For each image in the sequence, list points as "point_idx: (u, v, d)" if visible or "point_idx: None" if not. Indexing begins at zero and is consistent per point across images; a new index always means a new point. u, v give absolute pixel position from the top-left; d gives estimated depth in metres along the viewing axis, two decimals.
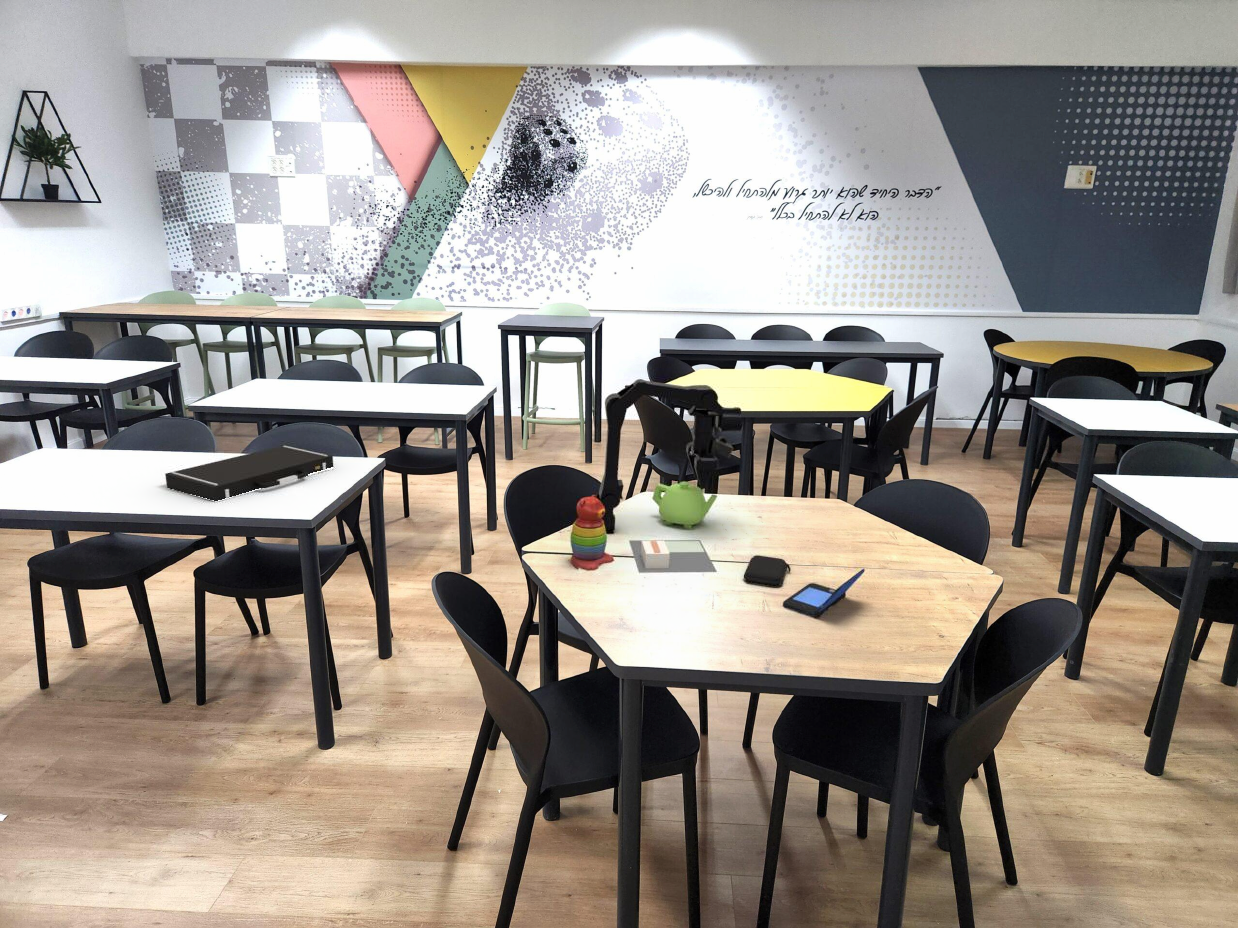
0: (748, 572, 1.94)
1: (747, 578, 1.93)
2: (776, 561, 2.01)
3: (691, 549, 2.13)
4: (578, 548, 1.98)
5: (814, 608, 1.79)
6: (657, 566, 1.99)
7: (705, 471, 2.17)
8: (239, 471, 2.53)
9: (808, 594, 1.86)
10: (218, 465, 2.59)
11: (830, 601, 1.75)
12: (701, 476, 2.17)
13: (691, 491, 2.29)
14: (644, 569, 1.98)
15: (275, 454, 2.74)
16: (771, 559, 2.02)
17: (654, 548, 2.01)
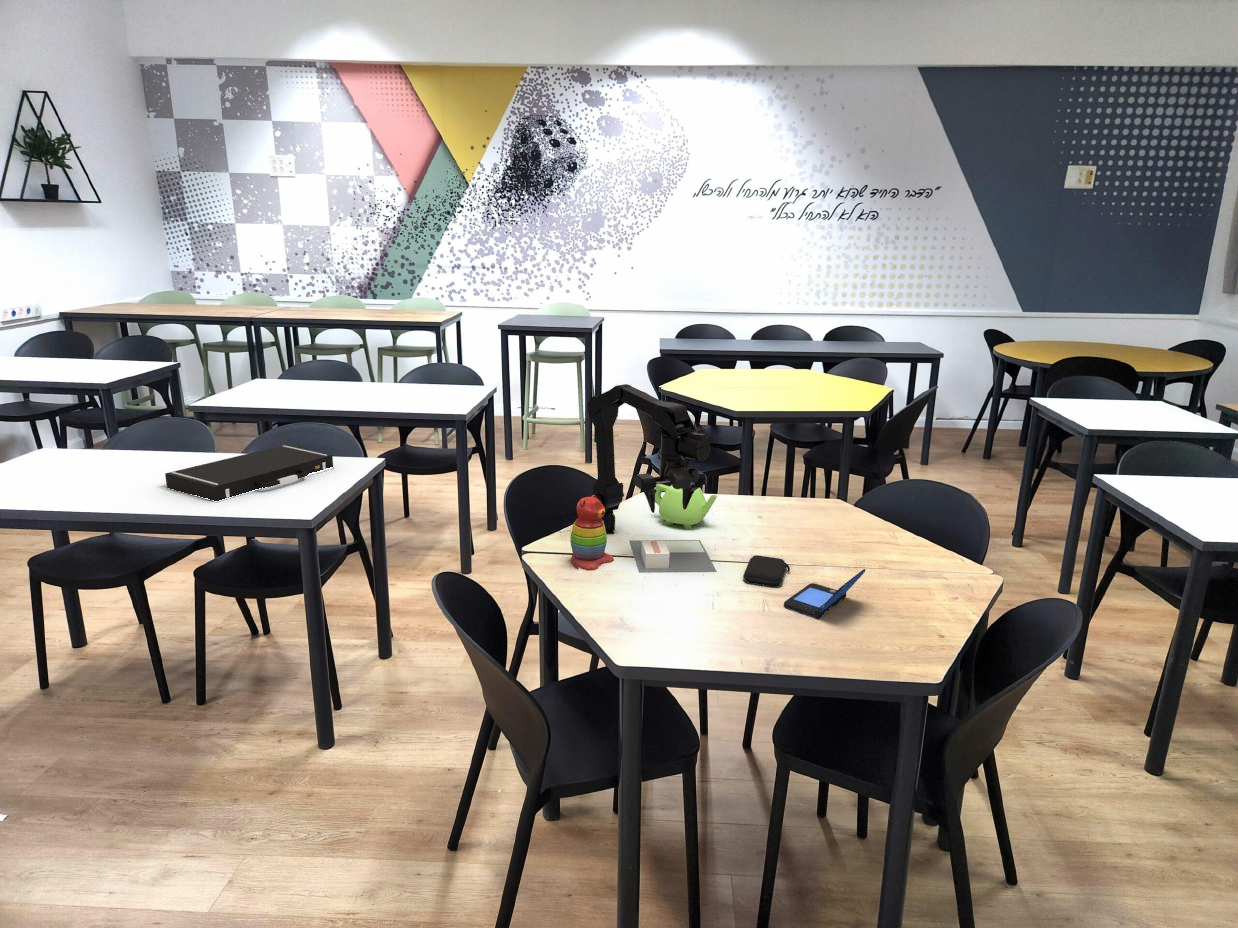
0: (748, 572, 1.94)
1: (747, 578, 1.93)
2: (776, 561, 2.01)
3: (691, 549, 2.13)
4: (578, 548, 1.98)
5: (815, 608, 1.79)
6: (657, 566, 1.99)
7: None
8: (239, 471, 2.53)
9: (809, 594, 1.86)
10: (218, 465, 2.59)
11: (831, 601, 1.75)
12: (647, 497, 2.04)
13: None
14: (644, 569, 1.98)
15: (275, 454, 2.74)
16: (770, 559, 2.02)
17: (654, 548, 2.01)
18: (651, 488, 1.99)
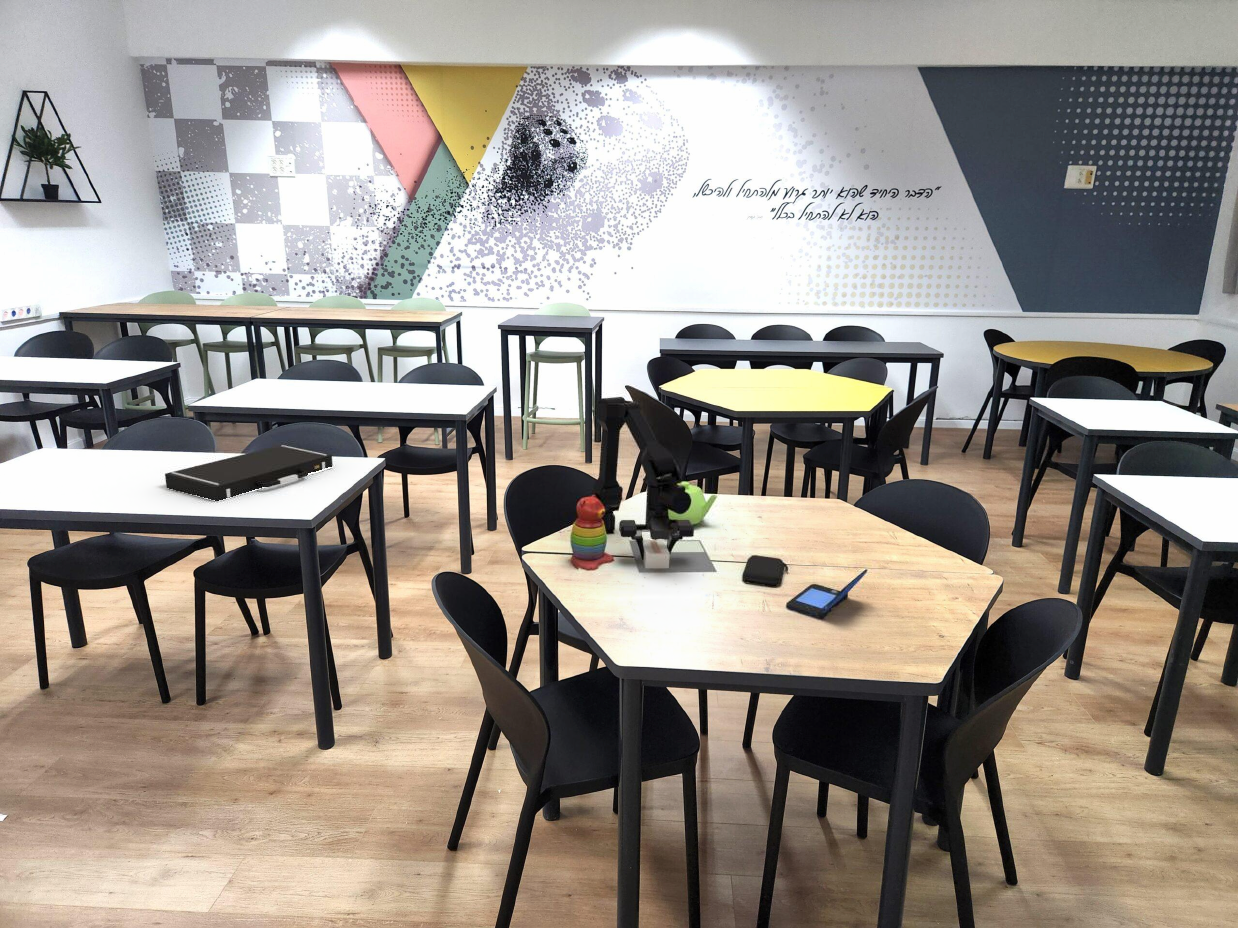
0: (747, 572, 1.94)
1: (746, 578, 1.93)
2: (774, 560, 2.02)
3: (691, 549, 2.13)
4: (578, 548, 1.98)
5: (818, 609, 1.79)
6: (657, 566, 1.99)
7: None
8: (239, 471, 2.53)
9: (811, 595, 1.85)
10: (217, 465, 2.59)
11: (834, 602, 1.75)
12: None
13: (691, 491, 2.29)
14: (644, 569, 1.98)
15: (274, 454, 2.74)
16: (768, 559, 2.02)
17: (654, 548, 2.01)
18: (631, 536, 1.98)
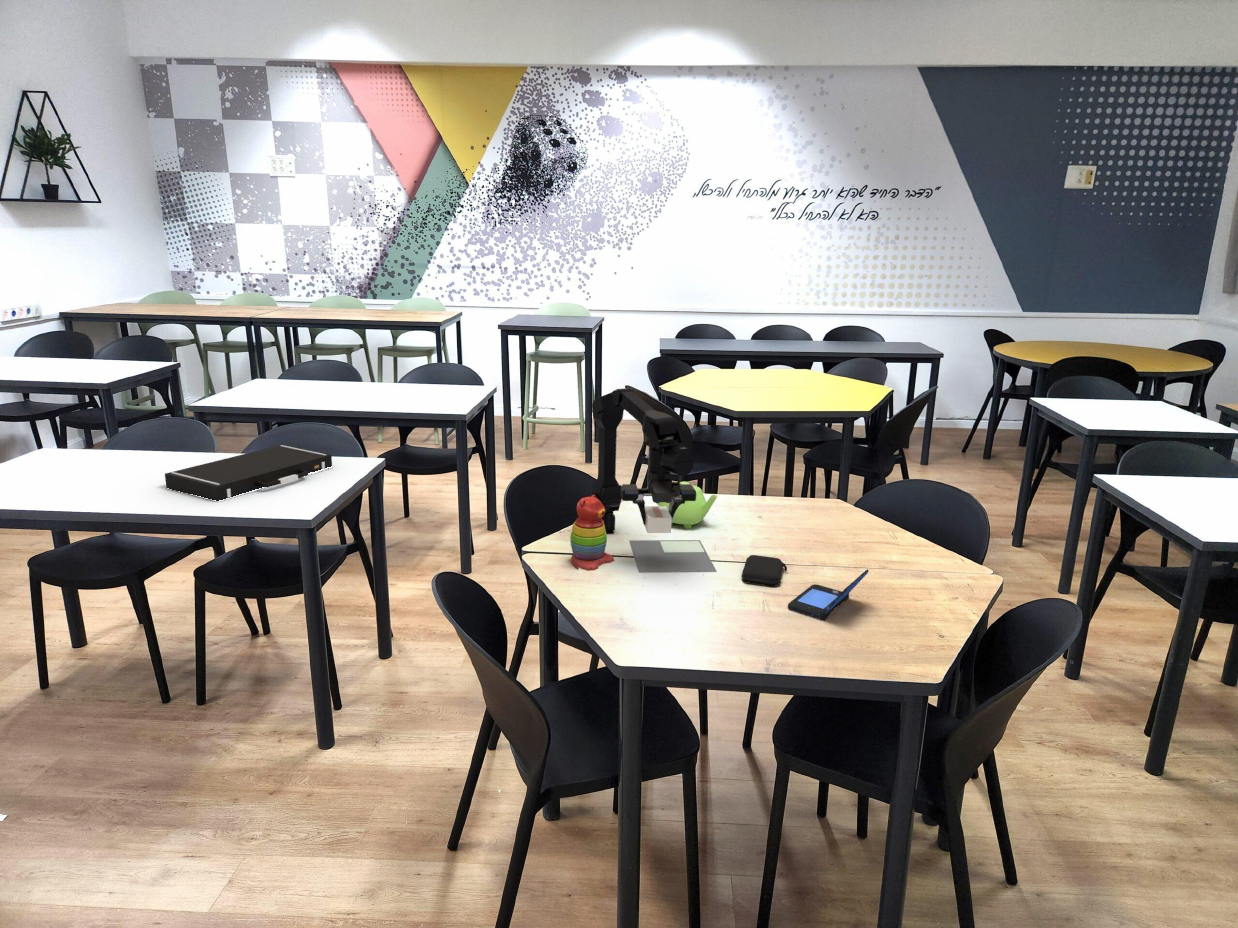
0: (746, 572, 1.94)
1: (745, 578, 1.93)
2: (772, 560, 2.02)
3: (691, 549, 2.13)
4: (578, 548, 1.98)
5: (819, 610, 1.78)
6: (659, 531, 1.97)
7: None
8: (239, 471, 2.53)
9: (812, 595, 1.85)
10: (217, 465, 2.59)
11: None
12: None
13: None
14: (644, 569, 1.98)
15: (273, 453, 2.74)
16: (767, 559, 2.02)
17: (656, 513, 1.98)
18: (633, 499, 1.95)
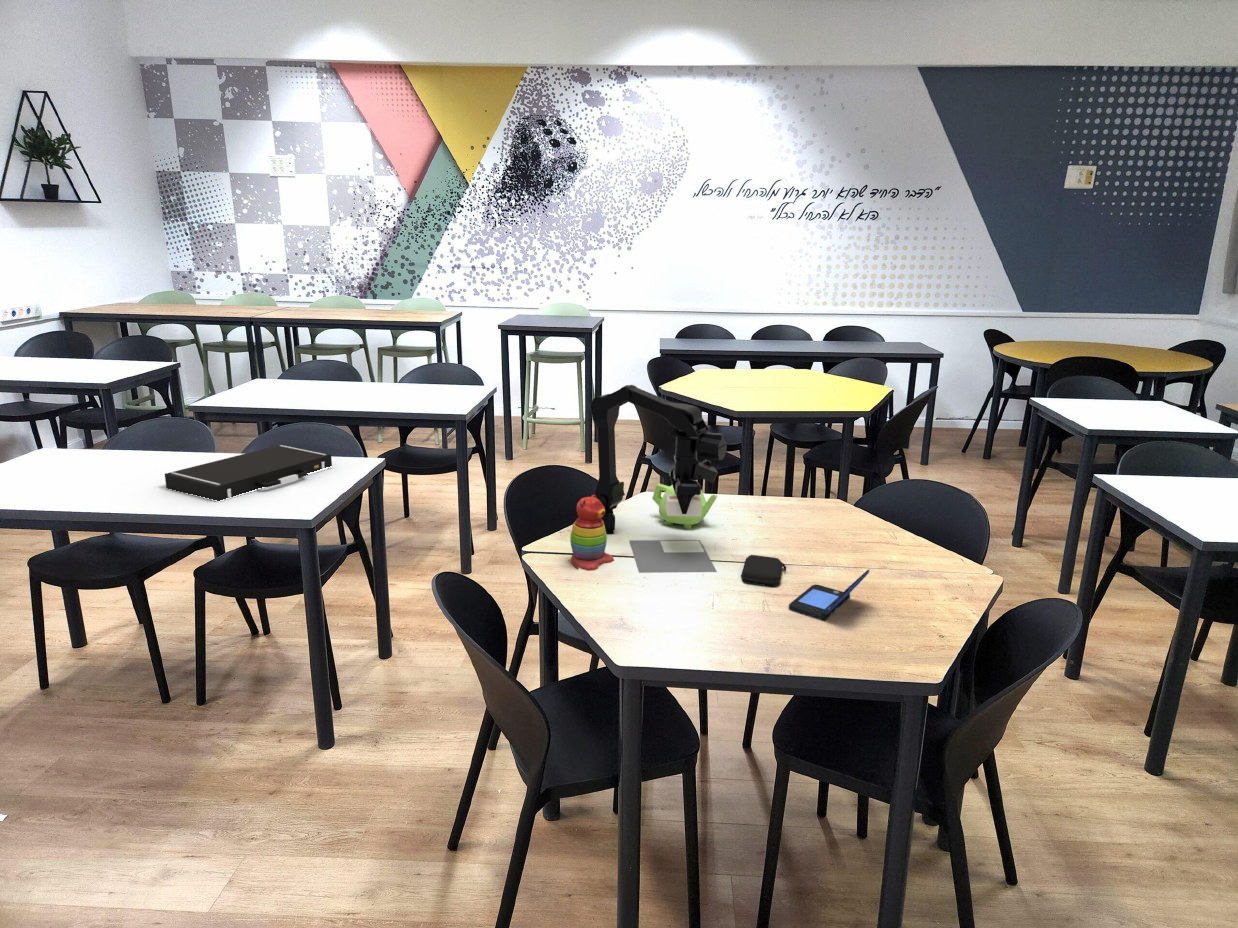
0: (746, 572, 1.94)
1: (745, 578, 1.93)
2: (772, 560, 2.02)
3: (691, 549, 2.13)
4: (578, 548, 1.98)
5: (820, 610, 1.78)
6: None
7: (686, 495, 2.05)
8: (239, 471, 2.53)
9: (813, 596, 1.85)
10: (217, 465, 2.59)
11: (837, 603, 1.75)
12: (682, 501, 2.05)
13: None
14: (644, 569, 1.98)
15: (273, 453, 2.74)
16: (766, 559, 2.02)
17: None
18: None
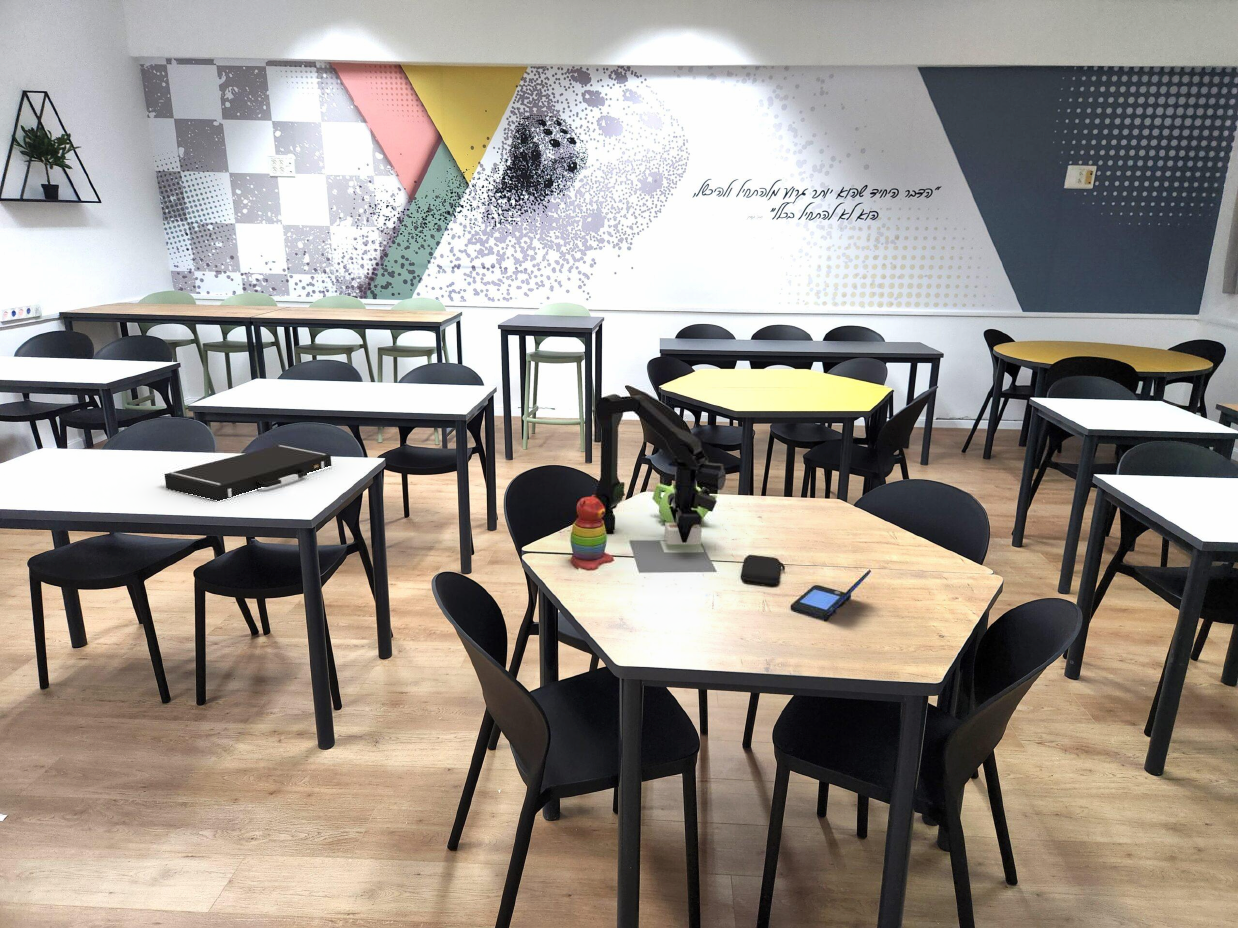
0: (745, 572, 1.94)
1: (744, 578, 1.93)
2: (770, 560, 2.02)
3: (691, 549, 2.13)
4: (578, 548, 1.98)
5: (822, 611, 1.78)
6: None
7: (686, 524, 2.08)
8: (239, 471, 2.53)
9: (815, 596, 1.85)
10: (217, 465, 2.59)
11: None
12: (682, 530, 2.08)
13: None
14: (644, 569, 1.98)
15: (272, 453, 2.74)
16: (765, 559, 2.02)
17: None
18: None
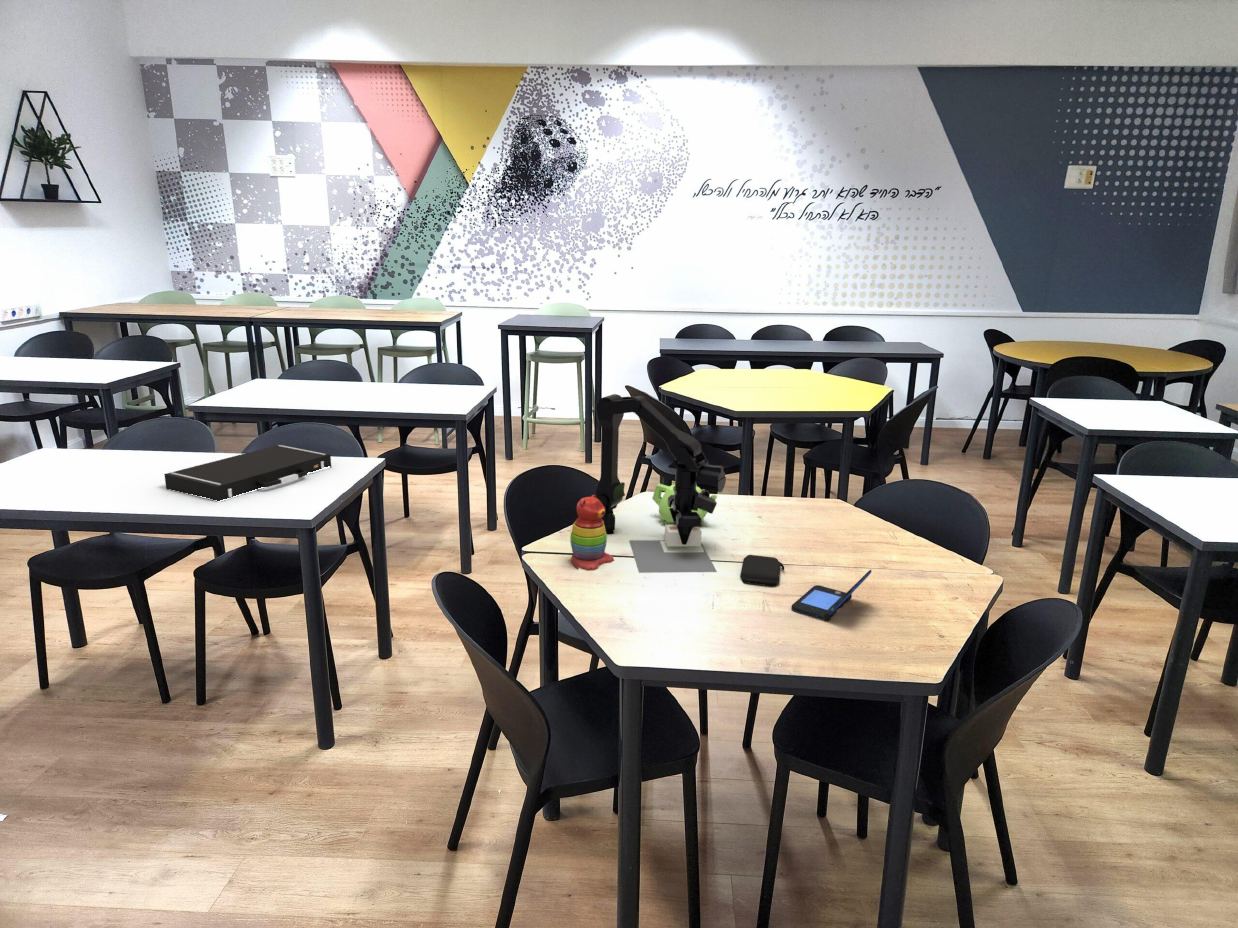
0: (745, 572, 1.94)
1: (744, 578, 1.93)
2: (770, 560, 2.02)
3: (691, 549, 2.13)
4: (578, 548, 1.98)
5: (823, 611, 1.78)
6: None
7: (686, 526, 2.08)
8: (239, 471, 2.53)
9: (815, 596, 1.85)
10: (216, 465, 2.59)
11: None
12: (682, 532, 2.08)
13: None
14: (644, 569, 1.98)
15: (272, 453, 2.74)
16: (764, 558, 2.02)
17: None
18: None
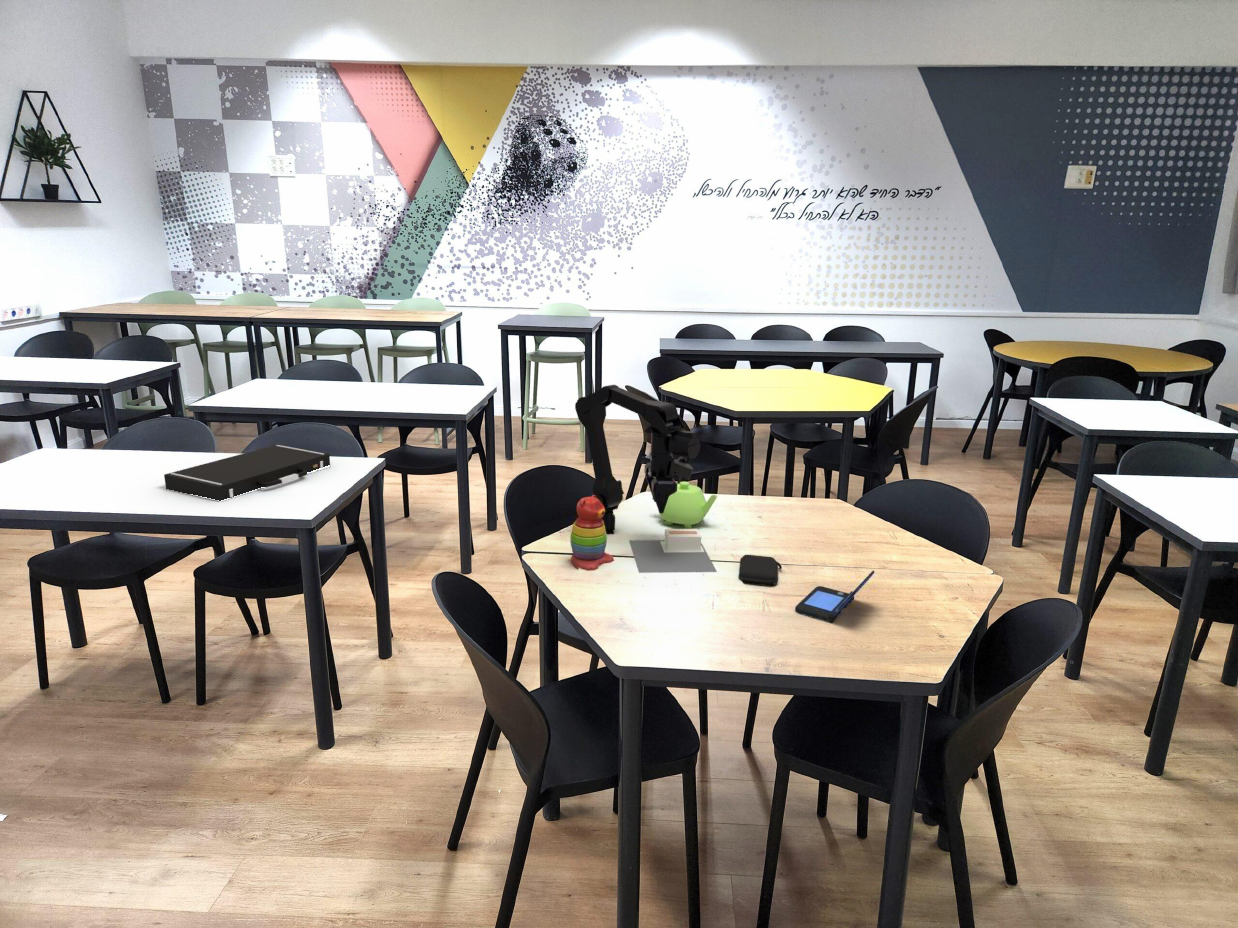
0: (743, 572, 1.94)
1: (743, 578, 1.93)
2: (767, 559, 2.02)
3: None
4: (578, 548, 1.98)
5: (827, 612, 1.77)
6: None
7: (663, 494, 2.03)
8: (239, 471, 2.53)
9: (818, 597, 1.84)
10: (216, 465, 2.59)
11: None
12: (659, 500, 2.04)
13: (691, 491, 2.29)
14: (644, 569, 1.98)
15: (271, 453, 2.74)
16: (762, 558, 2.03)
17: (688, 532, 2.13)
18: None
